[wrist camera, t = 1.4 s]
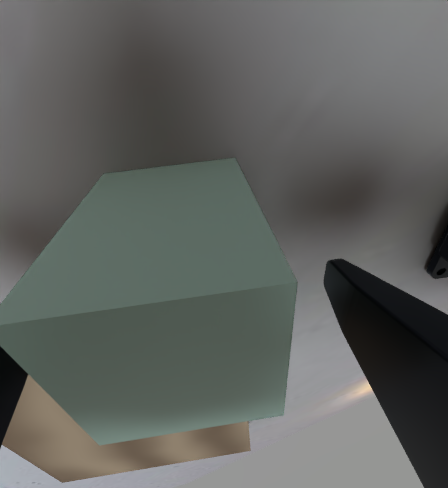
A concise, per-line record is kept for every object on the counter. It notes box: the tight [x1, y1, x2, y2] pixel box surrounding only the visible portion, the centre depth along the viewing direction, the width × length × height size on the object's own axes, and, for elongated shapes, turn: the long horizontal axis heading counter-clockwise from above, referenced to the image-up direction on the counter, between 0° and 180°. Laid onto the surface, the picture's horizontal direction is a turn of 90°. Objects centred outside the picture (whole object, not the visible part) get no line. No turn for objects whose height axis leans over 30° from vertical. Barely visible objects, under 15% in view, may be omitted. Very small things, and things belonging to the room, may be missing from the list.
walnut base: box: [2, 374, 250, 483], centre depth 18 cm, size 16×16×2 cm
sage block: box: [0, 158, 297, 446], centre depth 8 cm, size 5×5×7 cm
